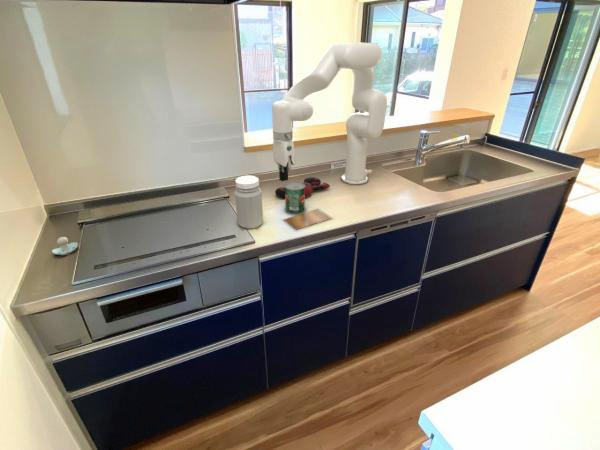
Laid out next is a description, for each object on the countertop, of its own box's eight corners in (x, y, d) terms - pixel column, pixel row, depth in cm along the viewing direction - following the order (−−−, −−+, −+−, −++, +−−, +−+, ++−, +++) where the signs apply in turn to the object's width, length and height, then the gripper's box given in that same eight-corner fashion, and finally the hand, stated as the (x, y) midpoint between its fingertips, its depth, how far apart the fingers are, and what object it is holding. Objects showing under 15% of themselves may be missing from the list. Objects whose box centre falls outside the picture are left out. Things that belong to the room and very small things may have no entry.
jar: (234, 220, 133) (230, 176, 124) (258, 215, 137) (255, 172, 128) (241, 232, 125) (237, 186, 117) (267, 226, 129) (264, 182, 120)
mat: (317, 209, 141) (317, 209, 141) (330, 218, 134) (330, 218, 134) (283, 220, 133) (283, 219, 133) (296, 229, 127) (296, 229, 127)
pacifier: (51, 253, 114) (56, 260, 110) (43, 237, 111) (49, 243, 107) (75, 244, 119) (81, 250, 115) (68, 228, 116) (75, 234, 112)
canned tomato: (282, 207, 142) (282, 183, 137) (300, 204, 145) (300, 180, 139) (289, 216, 136) (288, 190, 131) (307, 213, 138) (308, 187, 133)
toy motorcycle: (272, 198, 153) (295, 205, 142) (270, 187, 151) (294, 193, 140) (312, 185, 168) (336, 190, 157) (311, 174, 166) (336, 178, 155)
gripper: (301, 138, 129) (301, 184, 138) (281, 130, 140) (282, 172, 149) (284, 141, 125) (285, 188, 134) (265, 132, 136) (267, 176, 145)
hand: (283, 180), depth 141 cm, fingers closed
